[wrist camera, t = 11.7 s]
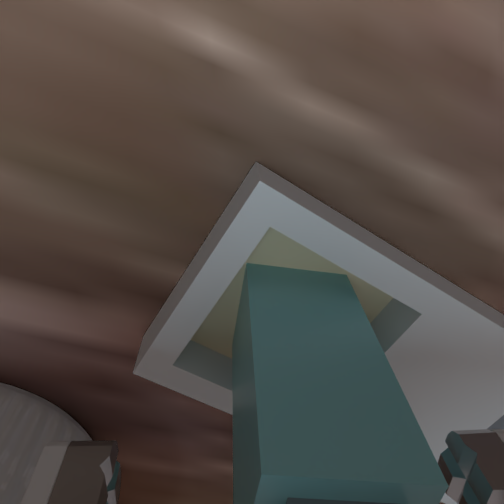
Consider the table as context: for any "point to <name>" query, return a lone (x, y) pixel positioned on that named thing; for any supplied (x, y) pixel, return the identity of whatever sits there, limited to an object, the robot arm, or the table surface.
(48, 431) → the ramekin
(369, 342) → the teal plug
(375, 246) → the socket panel
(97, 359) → the table surface
